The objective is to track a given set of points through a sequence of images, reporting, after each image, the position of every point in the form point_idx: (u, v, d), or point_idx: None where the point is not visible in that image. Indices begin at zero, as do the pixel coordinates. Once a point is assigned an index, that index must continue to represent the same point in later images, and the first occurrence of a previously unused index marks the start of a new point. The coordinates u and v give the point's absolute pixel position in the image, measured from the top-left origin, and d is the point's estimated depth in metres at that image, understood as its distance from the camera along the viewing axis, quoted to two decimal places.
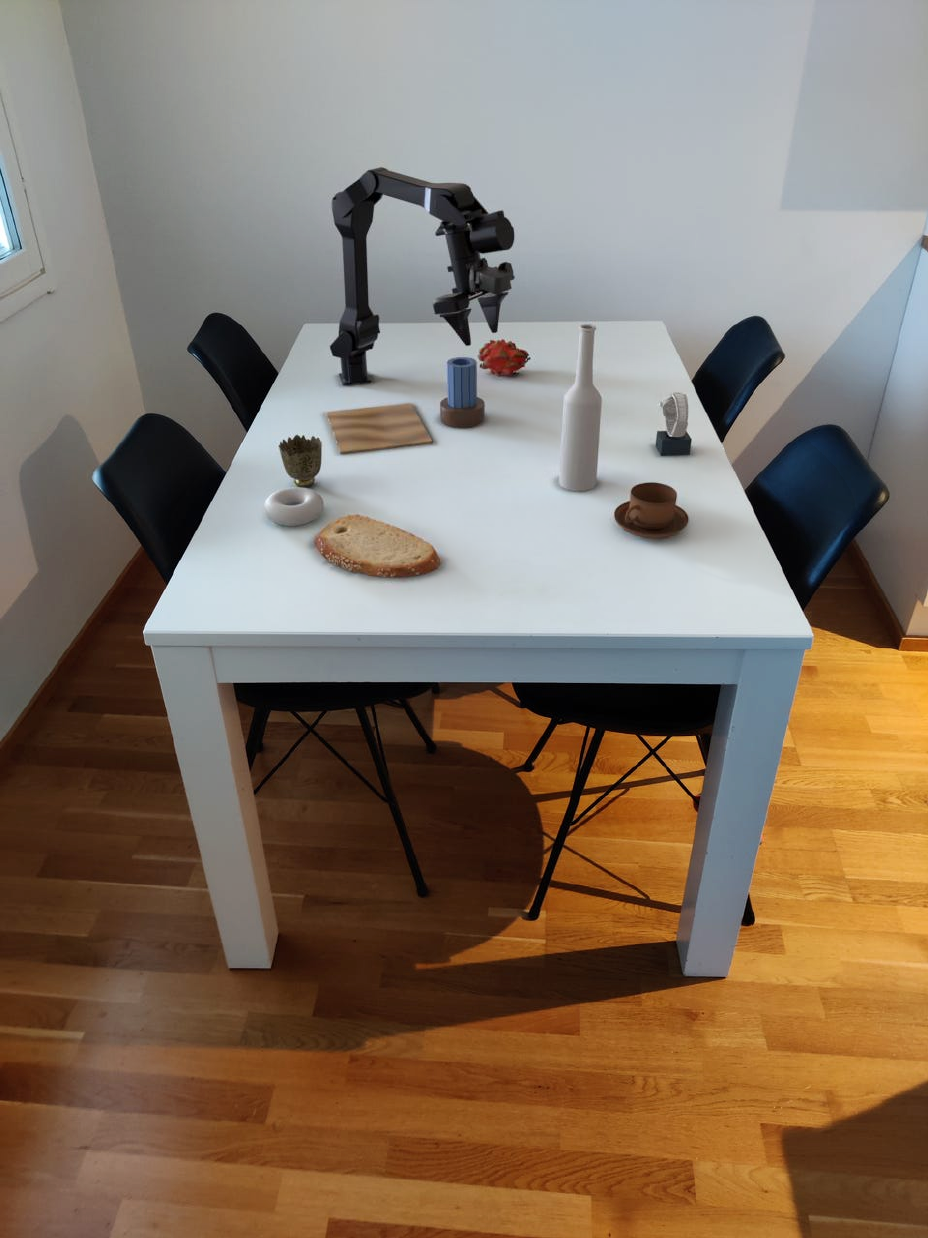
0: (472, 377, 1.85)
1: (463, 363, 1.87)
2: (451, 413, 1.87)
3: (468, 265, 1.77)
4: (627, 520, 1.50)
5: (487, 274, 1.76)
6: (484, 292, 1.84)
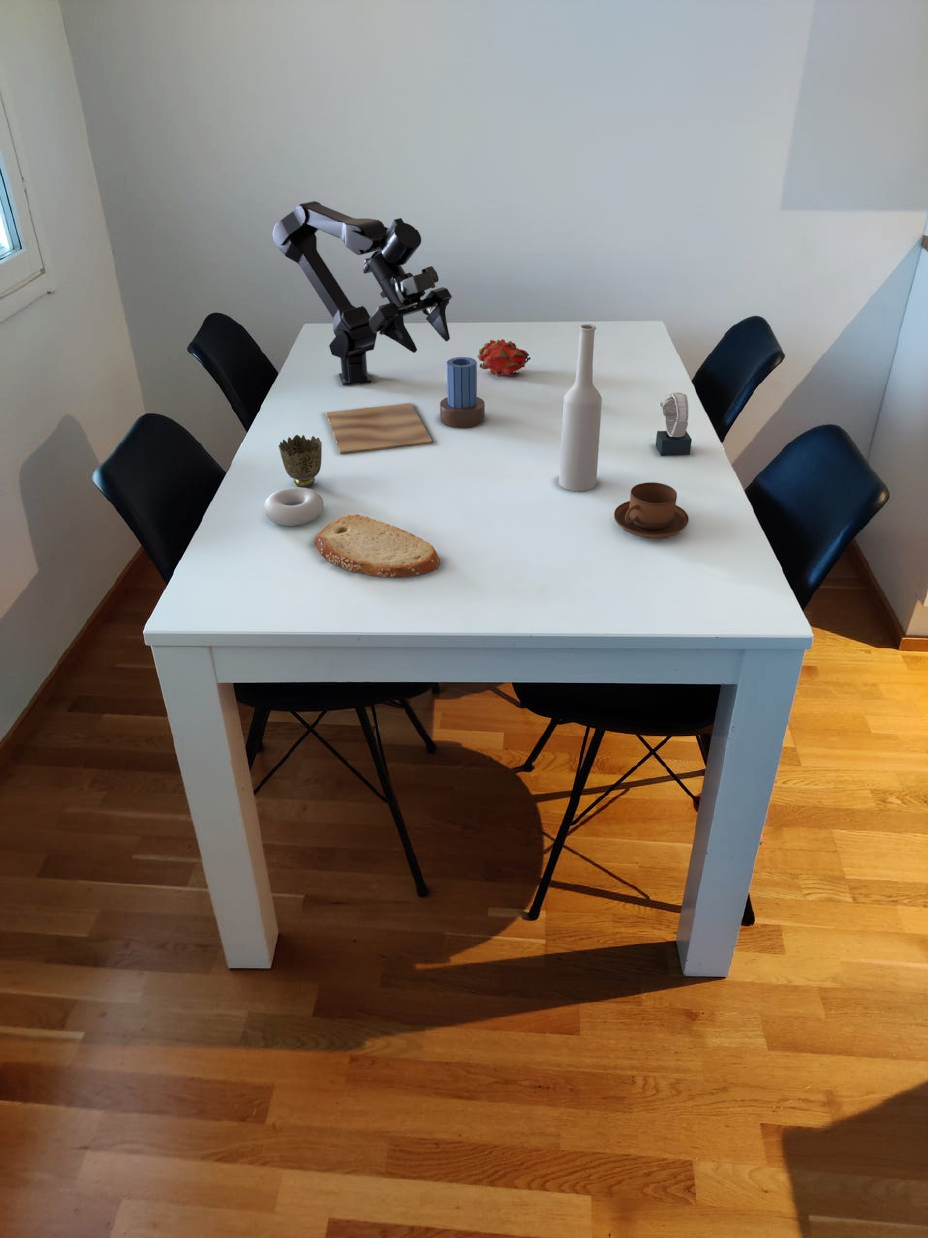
0: (472, 377, 1.85)
1: (463, 363, 1.87)
2: (451, 413, 1.87)
3: (392, 280, 1.86)
4: (627, 520, 1.50)
5: (407, 278, 1.83)
6: (424, 306, 1.91)
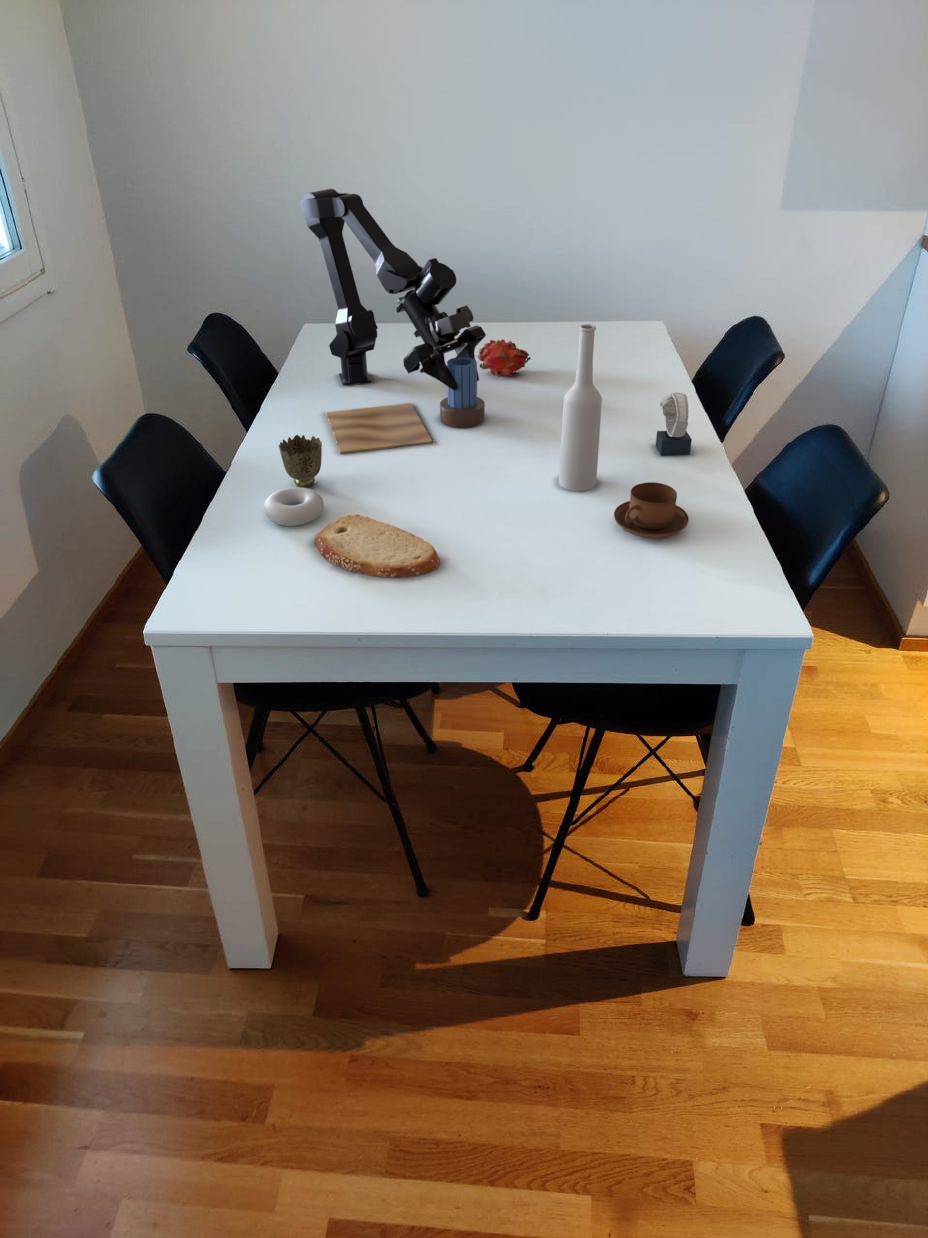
0: (472, 377, 1.85)
1: (463, 363, 1.87)
2: (451, 413, 1.87)
3: (426, 320, 1.84)
4: (627, 520, 1.50)
5: (442, 318, 1.81)
6: (458, 344, 1.88)
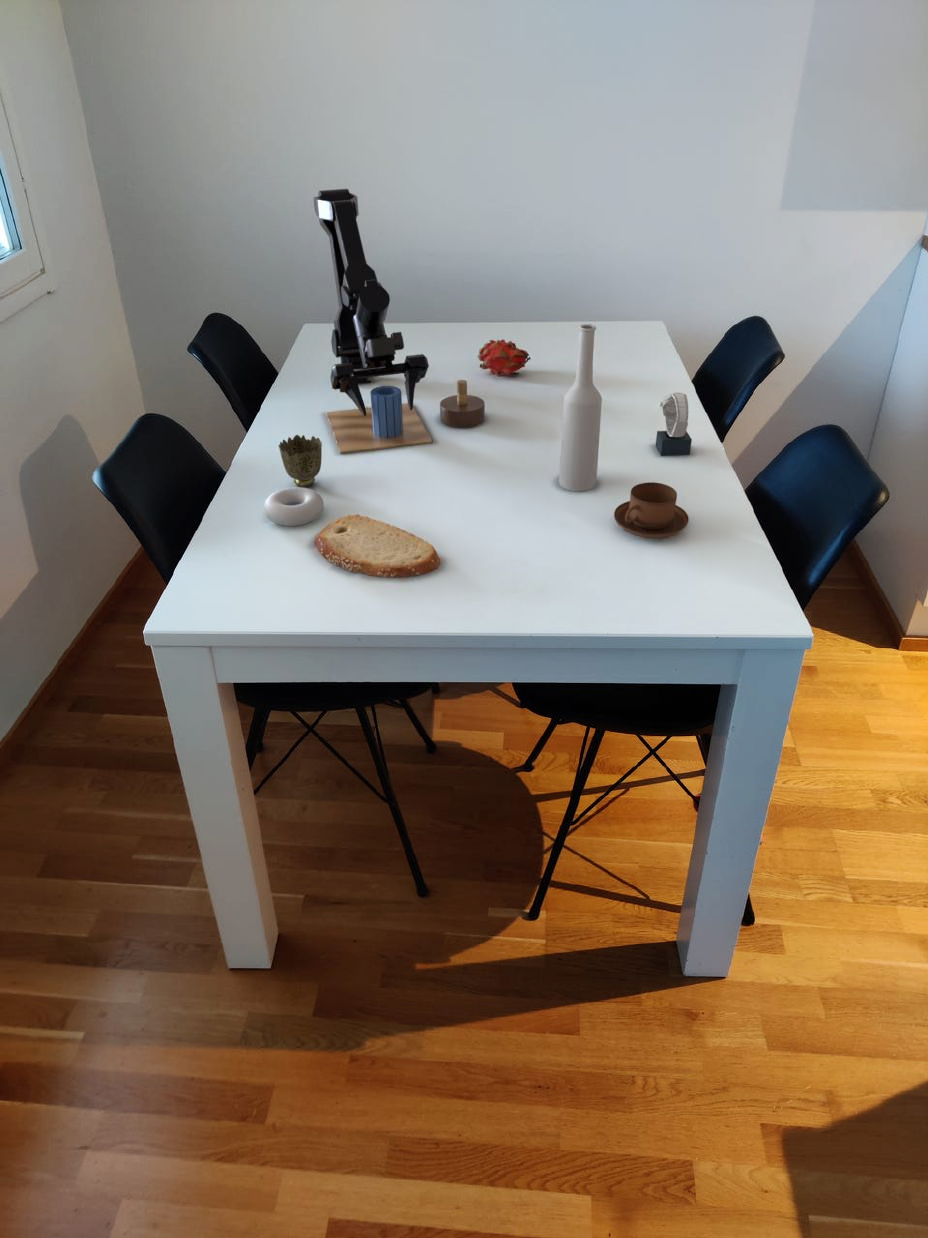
0: (390, 408, 1.80)
1: (392, 393, 1.83)
2: (451, 413, 1.87)
3: (362, 340, 1.82)
4: (627, 520, 1.50)
5: None
6: (396, 370, 1.84)
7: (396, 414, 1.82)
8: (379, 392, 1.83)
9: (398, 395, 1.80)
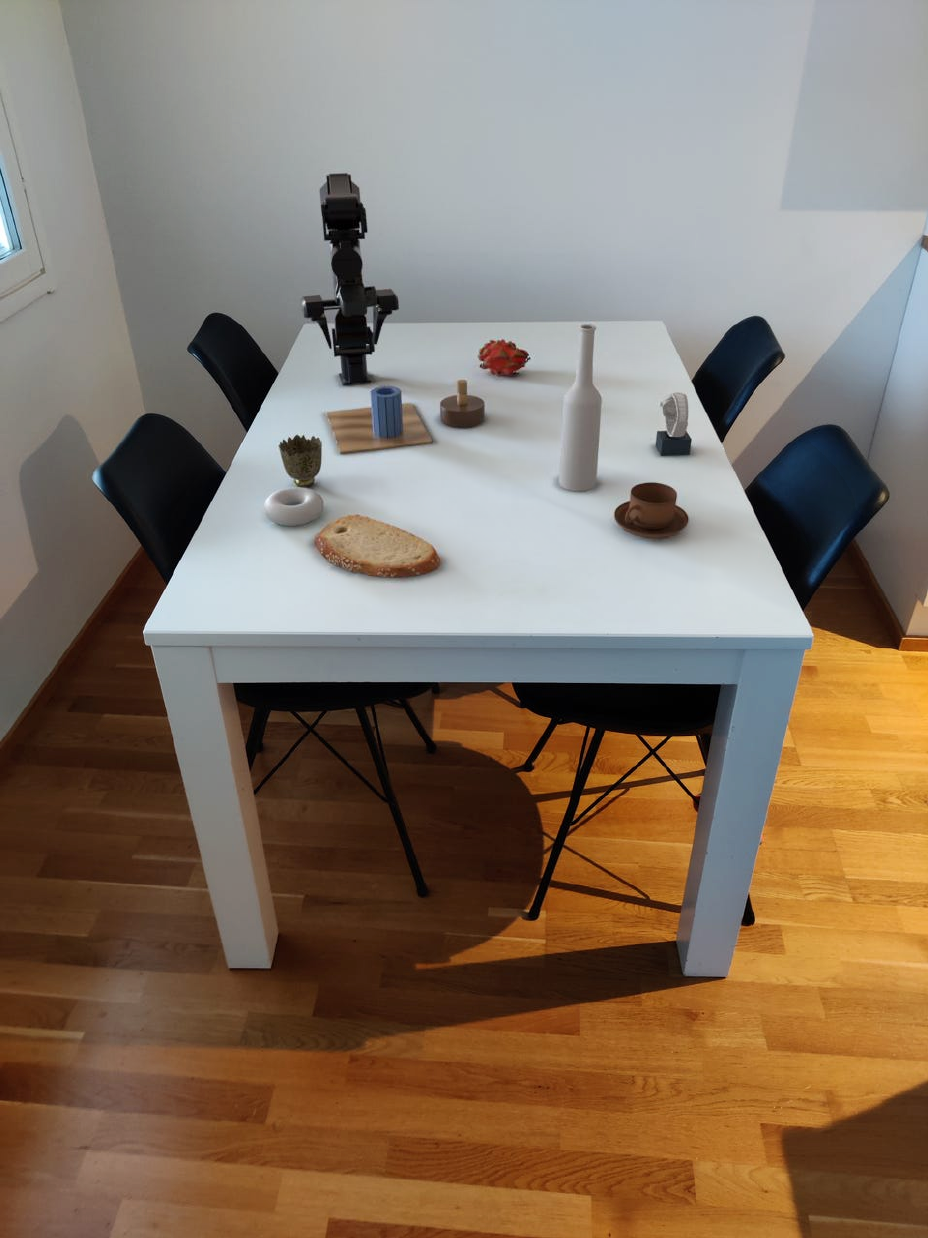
0: (390, 408, 1.80)
1: (392, 393, 1.83)
2: (451, 413, 1.87)
3: (336, 277, 1.80)
4: (627, 520, 1.50)
5: (342, 293, 1.79)
6: None
7: (396, 414, 1.82)
8: (379, 392, 1.83)
9: (398, 395, 1.80)
